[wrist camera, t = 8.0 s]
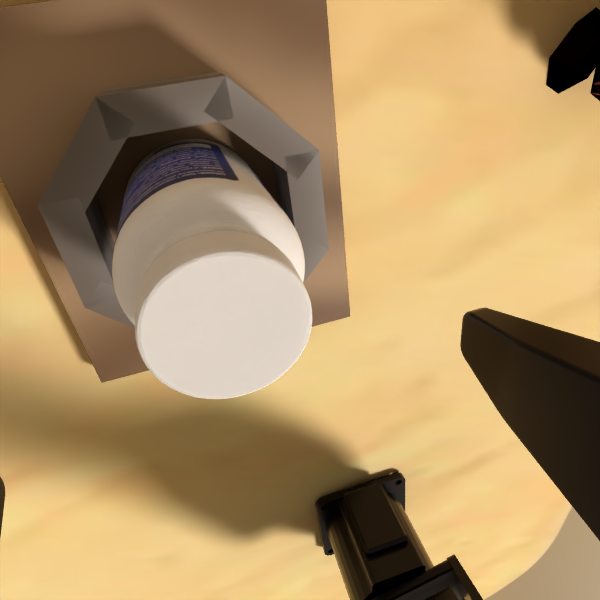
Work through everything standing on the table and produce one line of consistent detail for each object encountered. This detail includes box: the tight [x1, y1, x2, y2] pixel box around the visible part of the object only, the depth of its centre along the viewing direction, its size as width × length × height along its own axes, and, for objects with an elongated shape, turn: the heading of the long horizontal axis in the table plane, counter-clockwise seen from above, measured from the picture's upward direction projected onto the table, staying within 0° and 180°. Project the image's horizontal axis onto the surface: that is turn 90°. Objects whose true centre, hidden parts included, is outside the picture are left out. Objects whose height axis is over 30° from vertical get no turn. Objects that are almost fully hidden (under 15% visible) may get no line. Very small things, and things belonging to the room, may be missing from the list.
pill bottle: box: [112, 139, 312, 399], centre depth 13 cm, size 5×5×9 cm
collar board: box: [0, 0, 350, 382], centre depth 16 cm, size 14×12×4 cm
